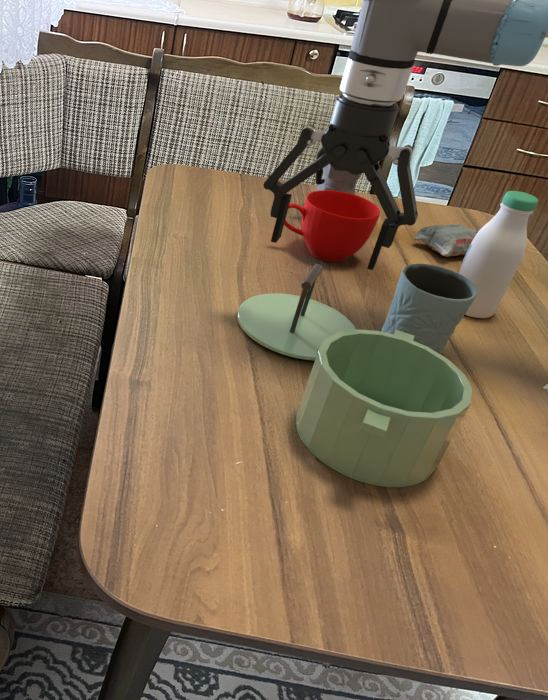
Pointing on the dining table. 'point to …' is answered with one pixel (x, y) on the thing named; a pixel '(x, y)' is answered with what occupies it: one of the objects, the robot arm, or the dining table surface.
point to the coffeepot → (335, 178)
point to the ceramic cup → (335, 223)
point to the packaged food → (447, 239)
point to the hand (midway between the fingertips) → (322, 252)
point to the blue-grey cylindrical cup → (429, 304)
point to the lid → (292, 320)
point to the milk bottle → (497, 253)
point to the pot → (381, 407)
